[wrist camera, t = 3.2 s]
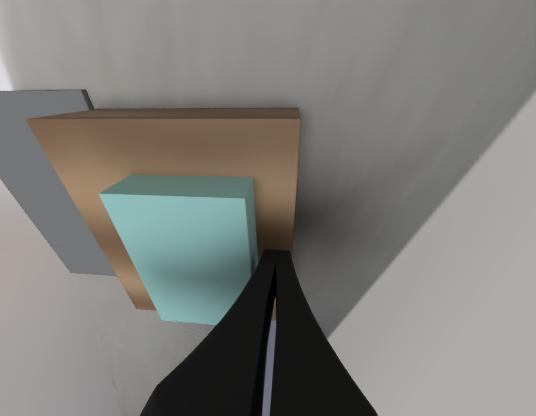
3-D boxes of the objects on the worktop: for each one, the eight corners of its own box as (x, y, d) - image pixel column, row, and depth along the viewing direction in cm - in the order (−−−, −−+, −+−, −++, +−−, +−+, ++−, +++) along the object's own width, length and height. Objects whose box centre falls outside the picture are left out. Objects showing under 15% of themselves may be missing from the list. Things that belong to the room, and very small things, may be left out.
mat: (162, 276, 20) (161, 279, 20) (73, 270, 21) (70, 272, 21) (85, 89, 12) (80, 90, 12) (-58, 91, 13) (-65, 92, 13)
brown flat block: (288, 278, 19) (287, 321, 15) (162, 269, 20) (136, 308, 16) (297, 107, 11) (300, 118, 8) (97, 109, 12) (25, 119, 9)
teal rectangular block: (259, 299, 14) (255, 328, 12) (176, 292, 15) (161, 320, 13) (253, 177, 9) (244, 198, 8) (130, 174, 10) (98, 193, 8)
